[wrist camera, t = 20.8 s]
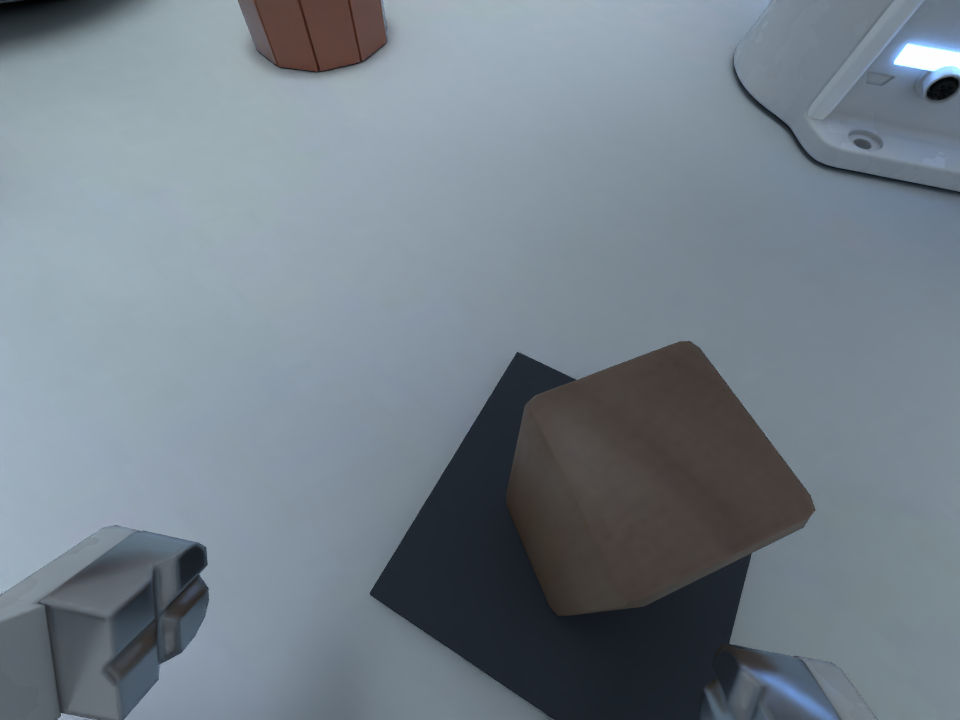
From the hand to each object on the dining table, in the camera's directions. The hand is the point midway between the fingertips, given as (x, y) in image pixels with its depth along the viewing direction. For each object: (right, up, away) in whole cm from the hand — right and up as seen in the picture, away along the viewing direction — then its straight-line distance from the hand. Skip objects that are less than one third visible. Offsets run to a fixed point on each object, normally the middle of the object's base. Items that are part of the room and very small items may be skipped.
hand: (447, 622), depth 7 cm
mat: (+4, -2, +8) cm, 9 cm away
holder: (-10, +26, +24) cm, 37 cm away
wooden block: (+4, -2, +8) cm, 9 cm away
